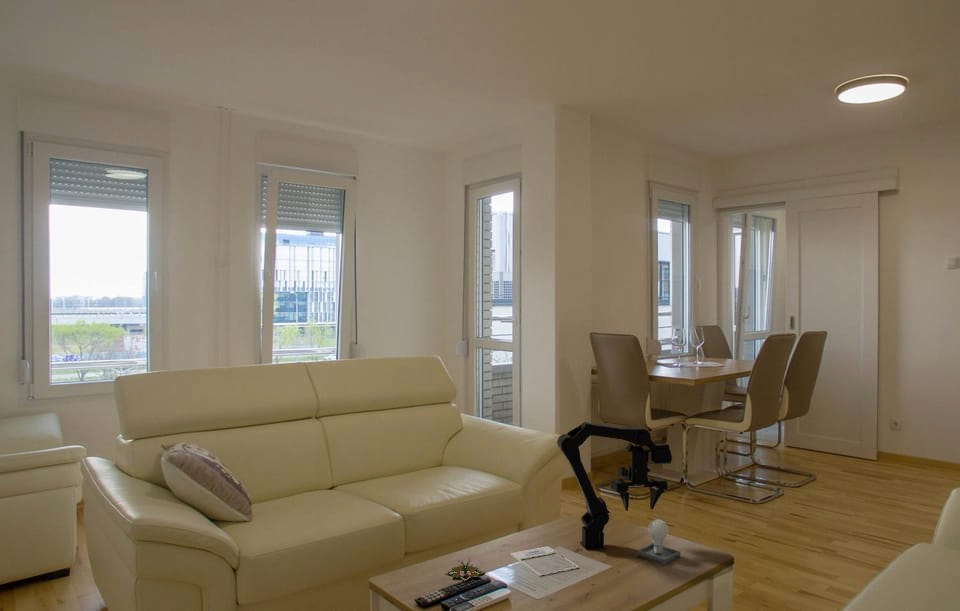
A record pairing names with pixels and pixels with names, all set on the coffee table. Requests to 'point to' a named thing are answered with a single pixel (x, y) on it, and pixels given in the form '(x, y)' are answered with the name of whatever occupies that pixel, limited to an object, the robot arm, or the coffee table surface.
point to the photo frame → (534, 553)
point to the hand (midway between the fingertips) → (639, 510)
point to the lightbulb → (658, 534)
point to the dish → (662, 558)
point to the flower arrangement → (465, 570)
